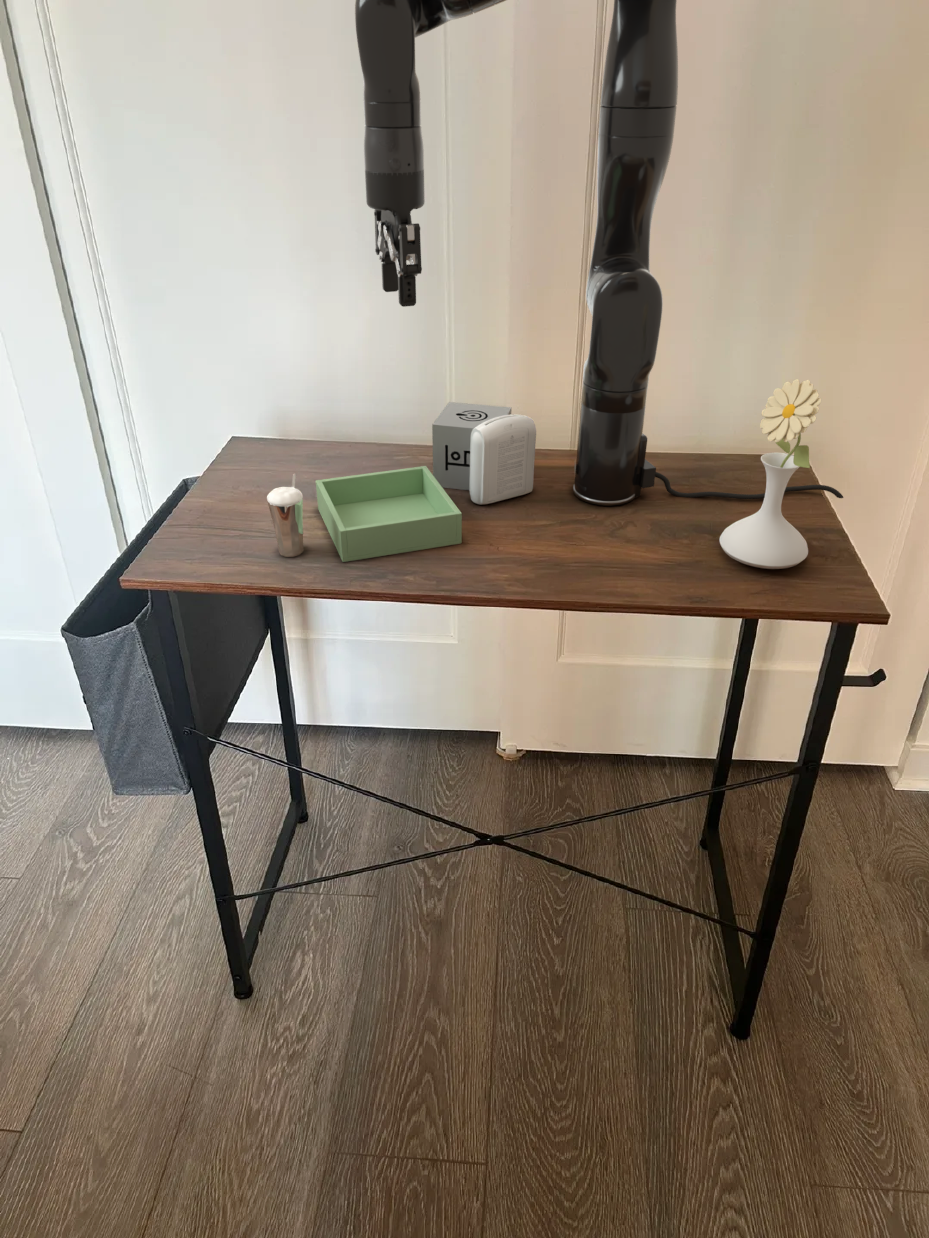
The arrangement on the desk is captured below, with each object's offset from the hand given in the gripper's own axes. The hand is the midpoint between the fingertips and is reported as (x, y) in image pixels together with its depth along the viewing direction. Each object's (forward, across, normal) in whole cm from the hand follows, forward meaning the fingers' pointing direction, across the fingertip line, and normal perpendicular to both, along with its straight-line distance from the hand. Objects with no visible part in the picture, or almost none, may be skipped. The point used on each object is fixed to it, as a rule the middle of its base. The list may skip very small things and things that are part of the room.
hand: (398, 298), depth 123 cm
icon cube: (+28, 0, -11) cm, 30 cm away
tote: (+28, -12, +6) cm, 31 cm away
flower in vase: (+28, -37, -39) cm, 61 cm away
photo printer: (+28, -8, -13) cm, 32 cm away
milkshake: (+28, -15, +20) cm, 38 cm away
